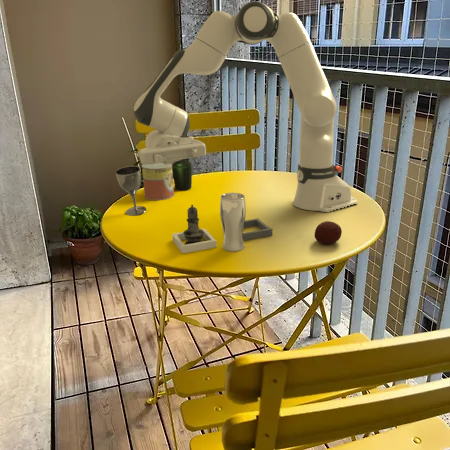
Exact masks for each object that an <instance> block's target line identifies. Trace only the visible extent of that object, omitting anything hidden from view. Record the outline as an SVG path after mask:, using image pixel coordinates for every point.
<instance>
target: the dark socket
mask: <svg viewBox="0 0 450 450" xmlns="http://www.w3.org/2000/svg"><path fill="white" fill-rule="evenodd" d="M252 227H256V228H258V230H251V231H248V232H243V241H244V242H245V241H249V240H254V239H255V240H256V239H260V238H261V239H262V238H265V237H272V236H273V228H272V227H270V226H269V225H268V224H266V223H264V222H263V221H262V220H261V219H259V218H251V219H245V223H244V229H245V228H246V229H247V228H252Z"/></svg>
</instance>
